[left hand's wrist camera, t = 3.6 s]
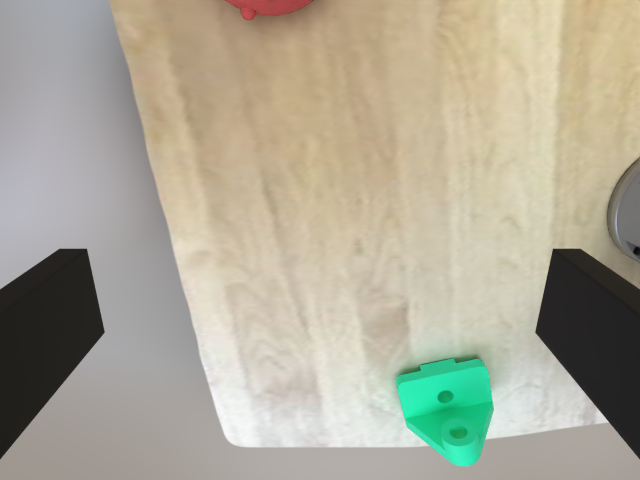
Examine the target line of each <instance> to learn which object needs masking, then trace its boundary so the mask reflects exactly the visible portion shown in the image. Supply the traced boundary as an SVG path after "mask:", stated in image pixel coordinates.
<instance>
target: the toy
mask: <svg viewBox="0 0 640 480" xmlns="http://www.w3.org/2000/svg"><path fill="white" fill-rule="evenodd" d="M225 1H227V2H229V3H230V4H232V5H233V6H235V7H237V8H240V9H241V15H242V17H243V18H244V19H246V20H252V19H253V18H254V17H255V15H256V14H259V15H282V14H287V13H291V12H293V11H296V10H298V9H300V8H302V7H304V6H306V5H307V4H309V3H310V2H312V1H313V0H225Z"/></svg>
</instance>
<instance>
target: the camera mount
mask: <svg viewBox="0 0 640 480" xmlns="http://www.w3.org/2000/svg"><path fill="white" fill-rule="evenodd" d="M419 366H420V370H421V371H417V372H412V373H408V374H403V375H400V376H398V377H397V379H396V385H397V389H398V393H399V397H400V401H401V406H402V410H403V414H404V418H405V422H406V426H407V428H409V429H410V430H411V431H412V432H414V433H415V434H416V435H417V436H419V437H420V438H421V439H422V440H424V441H425V442H426V443H427V444H429V445H430V446H431V447H432V448H434V449H435V450H436V451H437V452H439V453H440V454H441V455H442V456H444V457H445V458H446V459H447V460H449V461H450V462H451V463H453V464H455V465H458V466H469V465H472V464H474V463H475V462H477V460H478V459H479V457H480V454H481V451H482V447H483V444H484V441H485V437H486V434H487V431H488V427H489V424H490V421H491V417H492V414H493V410H494V408H493V401H492V395H491V388H490V381H489V375H488V370H487V368H486V366H485V364H484V363H483V361H482V360H480V359H474V360H469V361H464V362H459V363H456V362H455V360H454V358H452V359H447V360H443V361H438V362H433V363H429V364H424V365H419Z"/></svg>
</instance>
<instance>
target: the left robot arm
mask: <svg viewBox="0 0 640 480" xmlns="http://www.w3.org/2000/svg"><path fill="white" fill-rule="evenodd" d="M607 221H608V229H609V232H610V235H611V238H612V240H613V241H614V243H615V244H616V246H617V247H618V248H619V249H620V250H621V251H622V252H623V253H625V254H626V255H628V256H629V257H631V258H633V259H634V260H636V261H638V262H639V263H640V159H639V160H637V161H636V162H635V163H634V164H633V165H632V166H631V167H630V168H629V169H628V170H627V172H626V173H625V174H624V175H623V177H622V178H621V179H620V181H619V182H618V184H617V186H616V188H615V190H614V192H613V194H612V197H611V200H610V203H609V207H608V216H607ZM535 333H536V334H537V335H538V336H539V337H540V339H541V340H542V341H543V342H544V344H545V345H546V346H547V347H548V348H549V350H550V351H551V352H552V353H553V354H554V356H555V357H556V358H557V359H558V361H559V362H560V363H561V364H562V365H563V367H564V368H565V369H566V370H567V371H568V373H569V374H570V375H571V376H572V378H573V379H574V380H575V381H576V382H577V384H578V385H579V386H580V387H581V388H582V390H583V391H584V392H585V393H586V395H587V396H588V397H589V398H590V399H591V401H592V402H593V403H594V404H595V405H596V407H597V408H598V409H599V410H600V412H601V413H602V414H603V415H604V416H605V418H606V419H607V420H608V421H609V422H610V424H611V425H612V426H613V427H614V429H615V430H616V431H617V432H618V433H619V435H620V436H621V437H622V438H623V439H624V441H625V442H626V443H627V444H628V446H629V447H630V448H631V449H632V450H633V452H634V453H635V454H636V455H637V456H638V458H639V459H640V289H638V288H637V287H635V286H634V285H633V284H631V283H630V282H628V281H627V280H625V279H624V278H622V277H621V276H619V275H618V274H616V273H615V272H614V271H612V270H611V269H609V268H608V267H606V266H605V265H603V264H602V263H600V262H599V261H597V260H596V259H595V258H593V257H592V256H590V255H589V254H587V253H586V252H584V251H583V250H581V249H553V252H552V256H551V261H550V266H549V271H548V275H547V280H546V285H545V289H544V294H543V299H542V303H541V308H540V313H539V318H538V322H537V327H536V332H535ZM103 334H104V327H103V322H102V318H101V313H100V308H99V304H98V299H97V294H96V289H95V285H94V280H93V275H92V271H91V266H90V261H89V256H88V252H87V249H59V250H57V251H56V252H54V253H53V254H51V255H50V256H48V257H47V258H45V259H44V260H43V261H41V262H40V263H38V264H37V265H35V266H34V267H32V268H31V269H29V270H28V271H27V272H25V273H24V274H22V275H21V276H19V277H18V278H16V279H15V280H13V281H12V282H10V283H9V284H7V285H6V286H5V287H3V288H2V289H0V459H1V458H2V456H3V455H4V454H5V453H6V452H7V450H8V449H9V448H10V447H11V446H12V444H13V443H14V442H15V441H16V439H17V438H18V437H19V436H20V435H21V433H22V432H23V431H24V430H25V428H26V427H27V426H28V425H29V424H30V422H31V421H32V420H33V419H34V418H35V416H36V415H37V414H38V413H39V412H40V410H41V409H42V408H43V407H44V405H45V404H46V403H47V402H48V401H49V399H50V398H51V397H52V396H53V395H54V393H55V392H56V391H57V390H58V388H59V387H60V386H61V385H62V384H63V382H64V381H65V380H66V379H67V378H68V376H69V375H70V374H71V373H72V371H73V370H74V369H75V368H76V367H77V365H78V364H79V363H80V362H81V361H82V359H83V358H84V357H85V356H86V354H87V353H88V352H89V351H90V349H91V348H92V347H93V346H94V345H95V344H96V342H97V341H98V340H99V339H100V337H101V336H102V335H103Z"/></svg>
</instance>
